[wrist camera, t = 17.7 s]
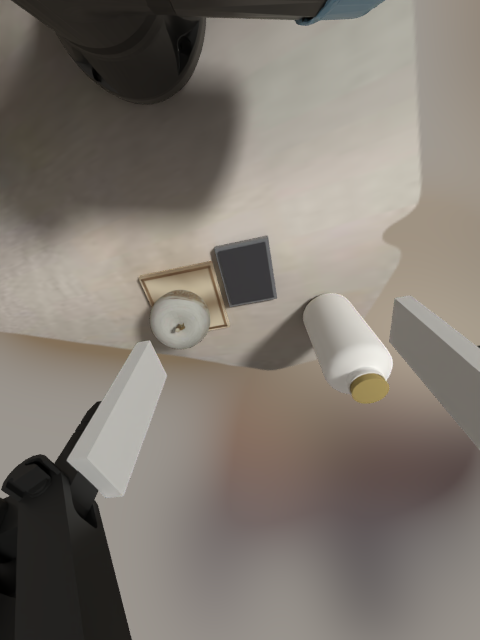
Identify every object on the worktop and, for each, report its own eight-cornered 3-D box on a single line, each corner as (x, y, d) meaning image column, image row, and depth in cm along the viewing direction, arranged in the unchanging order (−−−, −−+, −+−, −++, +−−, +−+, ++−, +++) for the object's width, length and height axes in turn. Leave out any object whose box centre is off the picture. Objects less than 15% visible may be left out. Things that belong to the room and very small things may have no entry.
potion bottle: (303, 335, 46) (333, 419, 31) (299, 295, 42) (332, 370, 26) (349, 327, 45) (404, 410, 30) (350, 286, 41) (415, 358, 25)
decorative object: (166, 326, 44) (148, 364, 36) (155, 279, 39) (131, 311, 31) (216, 324, 44) (210, 362, 35) (210, 277, 39) (202, 308, 31)
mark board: (140, 275, 40) (138, 278, 39) (212, 260, 39) (211, 263, 38) (167, 335, 46) (165, 338, 45) (229, 324, 45) (229, 327, 44)
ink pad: (214, 246, 38) (213, 249, 36) (267, 235, 37) (268, 238, 35) (230, 303, 43) (229, 308, 41) (276, 295, 42) (277, 299, 41)
